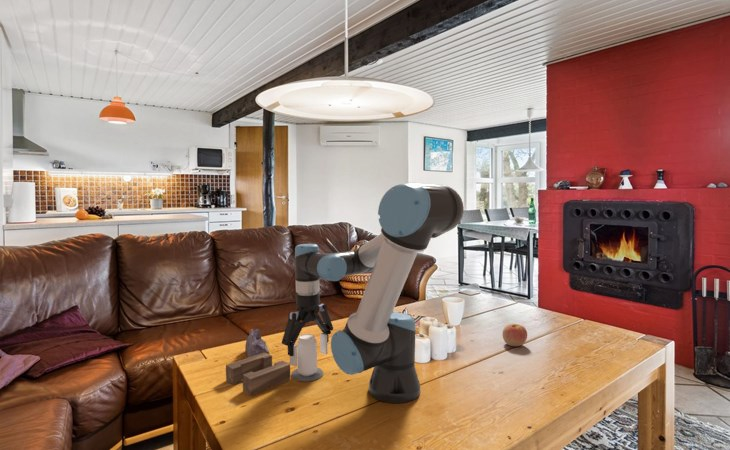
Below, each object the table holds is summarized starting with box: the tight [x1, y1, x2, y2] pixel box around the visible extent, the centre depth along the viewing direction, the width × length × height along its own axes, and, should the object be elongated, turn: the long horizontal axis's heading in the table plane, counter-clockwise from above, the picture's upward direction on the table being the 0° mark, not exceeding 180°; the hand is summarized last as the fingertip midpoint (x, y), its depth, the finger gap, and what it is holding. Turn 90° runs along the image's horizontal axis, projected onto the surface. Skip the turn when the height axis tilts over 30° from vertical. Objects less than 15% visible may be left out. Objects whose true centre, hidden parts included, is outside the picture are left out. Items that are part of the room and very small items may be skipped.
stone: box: [244, 328, 270, 358], centre depth 142 cm, size 10×6×15 cm
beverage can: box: [296, 333, 318, 376], centre depth 128 cm, size 6×6×12 cm
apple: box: [502, 323, 528, 347], centre depth 156 cm, size 9×9×8 cm
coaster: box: [291, 367, 324, 383], centre depth 129 cm, size 10×10×1 cm
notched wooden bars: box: [225, 352, 291, 397], centre depth 125 cm, size 14×14×5 cm
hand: (309, 358), depth 129 cm, fingers open, 12 cm apart
